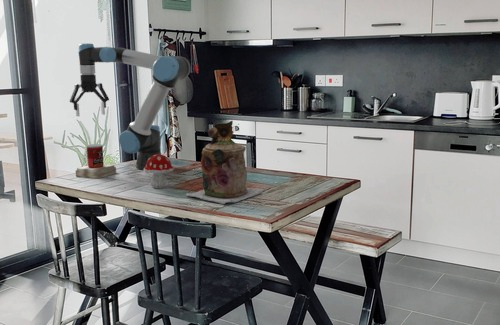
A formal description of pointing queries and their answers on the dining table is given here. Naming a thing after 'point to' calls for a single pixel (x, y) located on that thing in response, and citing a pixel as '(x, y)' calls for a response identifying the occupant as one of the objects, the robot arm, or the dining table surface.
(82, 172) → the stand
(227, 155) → the cookie jar
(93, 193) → the dining table surface
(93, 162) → the canned food
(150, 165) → the decorative mushroom
